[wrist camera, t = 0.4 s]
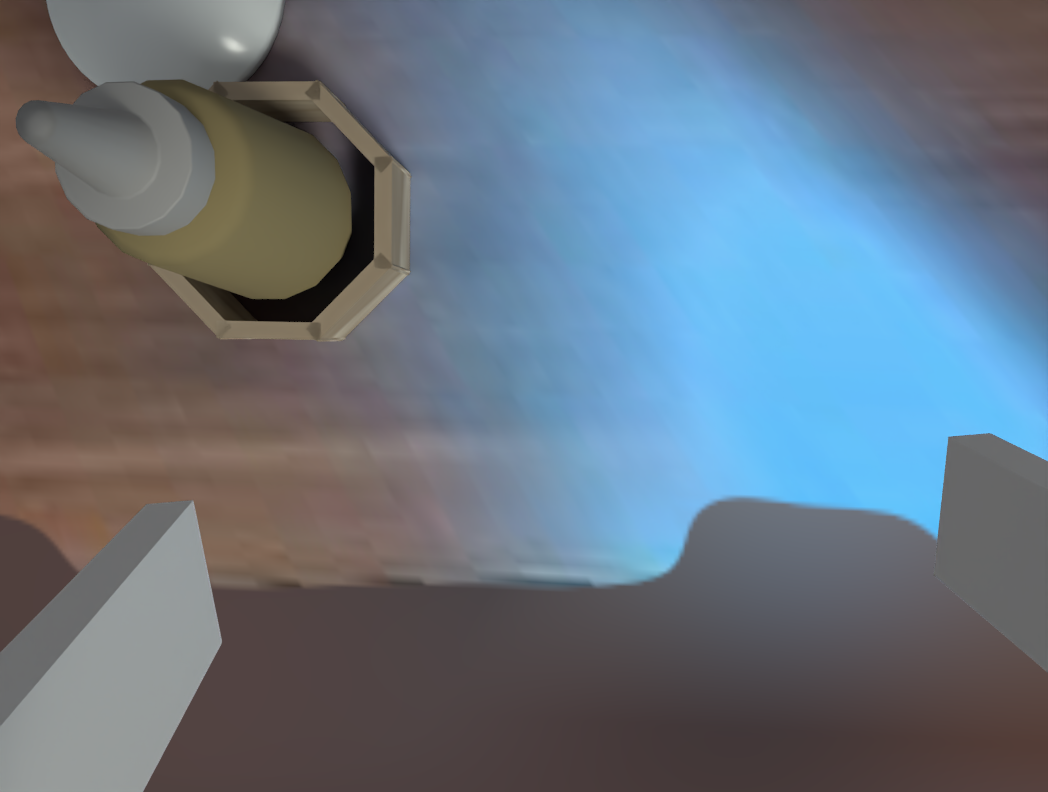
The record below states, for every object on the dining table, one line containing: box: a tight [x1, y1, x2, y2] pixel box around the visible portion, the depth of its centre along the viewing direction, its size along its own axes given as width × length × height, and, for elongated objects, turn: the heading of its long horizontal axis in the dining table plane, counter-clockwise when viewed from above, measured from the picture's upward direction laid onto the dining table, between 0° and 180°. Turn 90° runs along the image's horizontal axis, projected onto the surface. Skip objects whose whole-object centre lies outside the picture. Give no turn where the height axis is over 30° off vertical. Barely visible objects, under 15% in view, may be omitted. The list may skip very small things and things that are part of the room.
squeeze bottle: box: [16, 79, 352, 299], centre depth 29 cm, size 8×8×18 cm
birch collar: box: [148, 80, 411, 341], centre depth 36 cm, size 12×12×4 cm
